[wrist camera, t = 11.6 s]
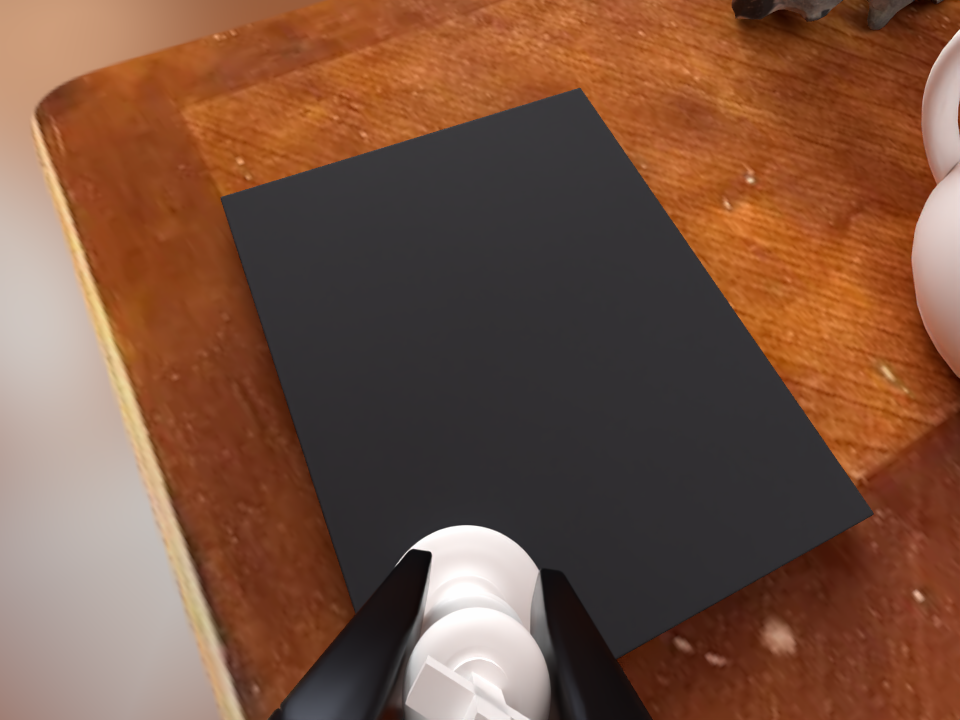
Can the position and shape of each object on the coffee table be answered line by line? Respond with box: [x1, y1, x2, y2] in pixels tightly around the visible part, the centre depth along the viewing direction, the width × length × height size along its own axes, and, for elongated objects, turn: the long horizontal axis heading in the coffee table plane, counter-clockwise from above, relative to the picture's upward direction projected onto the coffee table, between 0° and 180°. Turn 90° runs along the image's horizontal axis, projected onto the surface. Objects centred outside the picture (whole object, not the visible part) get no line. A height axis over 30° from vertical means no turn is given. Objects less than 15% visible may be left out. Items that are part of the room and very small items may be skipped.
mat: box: [221, 88, 873, 720], centre depth 18 cm, size 16×20×1 cm
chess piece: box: [395, 525, 551, 720], centre depth 9 cm, size 5×5×10 cm
